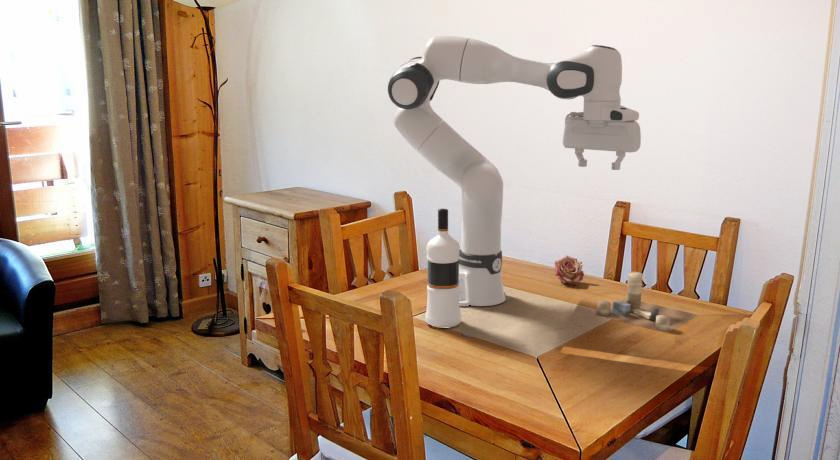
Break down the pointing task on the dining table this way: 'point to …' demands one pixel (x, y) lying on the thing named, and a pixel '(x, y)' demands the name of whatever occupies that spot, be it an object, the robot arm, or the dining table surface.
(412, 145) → the robot arm
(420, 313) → the dining table surface
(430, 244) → the vodka
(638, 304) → the leg
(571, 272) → the flower
